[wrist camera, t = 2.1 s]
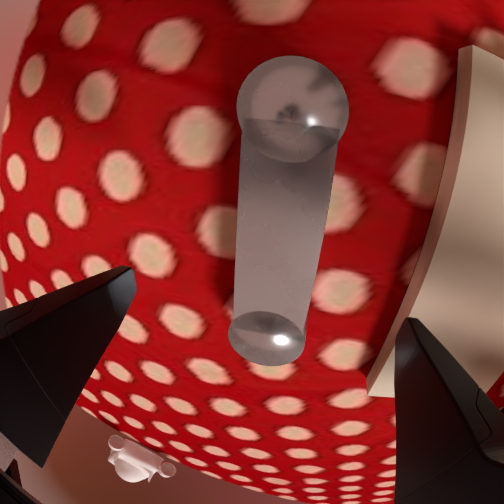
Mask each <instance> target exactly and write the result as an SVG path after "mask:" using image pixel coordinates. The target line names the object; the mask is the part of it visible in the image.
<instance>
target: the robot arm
mask: <svg viewBox="0 0 504 504" xmlns="http://www.w3.org/2000/svg"><path fill="white" fill-rule="evenodd" d="M136 292H137V285H136V279H135V273H134V270H133V268H132V267H128V266H124V265H122V266H119V267H116V268H113V269H111V270H108V271H105V272H103V273H100V274H97V275H94V276H92V277H89V278H87V279H84V280H81V281H79V282H76V283H73V284H71V285H68V286H66V287H63V288H60V289H58V290H55V291H53V292H50V293H48V294H45V295H43V296H40V297H39V298H35V299H32V300H30V301H27V302H25V303H22V304H19V305H17V306H14V307H11V308H8V309H5V310H2V311H0V504H42V503H41V502H40V501H38V500H37V499H36V498H34V497H33V496H32V495H31V494H29V493H28V492H27V491H26V490H24V489H23V488H22V484H21V479H20V475H19V469H18V464H17V461H16V460H15V459H14V457H15V455H16V454H17V452H18V451H20V452H21V453H23V454H24V455H25V456H26V457H27V458H29V459H30V460H31V461H33V462H34V463H35V464H37V465H38V466H39V467H41V468H42V467H43V466H44V464H45V462H46V460H47V457H48V456H49V454H50V452H51V450H52V448H53V445H54V443H55V441H56V439H57V437H58V435H59V433H60V431H61V430H62V428H63V426H64V424H65V421H66V419H67V418H68V416H69V414H70V412H71V410H72V408H73V406H74V405H75V403H76V401H77V399H78V397H79V395H80V394H81V392H82V390H83V388H84V386H85V385H86V383H87V381H88V379H89V378H90V376H91V374H92V372H93V371H94V369H95V367H96V365H97V364H98V362H99V360H100V359H101V357H102V355H103V353H104V352H105V350H106V348H107V347H108V345H109V343H110V342H111V340H112V339H113V337H114V335H115V334H116V332H117V330H118V329H119V327H120V325H121V323H122V321H123V319H124V317H125V315H126V313H127V311H128V309H129V307H130V305H131V303H132V300H133V298H134V297H135V294H136ZM394 392H395V411H396V480H395V498H394V502H395V503H394V504H504V408H503V409H502V410H501V411H500V410H499V409H498V407H497V406H496V405H495V404H494V403H493V402H492V401H491V399H490V398H489V397H488V396H487V395H486V394H485V392H484V391H483V390H482V389H481V388H479V385H478V384H477V383H476V382H475V381H474V379H473V378H472V377H471V376H470V375H469V374H468V373H467V371H466V370H465V369H464V368H463V367H462V366H461V365H460V363H459V362H458V361H457V360H456V359H455V358H454V357H453V356H452V355H451V353H450V352H449V351H448V350H447V349H446V348H445V347H444V346H443V345H442V344H441V342H440V341H439V340H438V339H437V338H436V337H435V336H434V335H433V334H432V333H431V332H430V331H429V330H428V329H427V328H426V326H425V325H424V324H423V323H422V322H421V321H420V320H419V319H417V318H412V317H406V318H405V319H404V320H403V323H402V325H401V327H400V329H399V331H398V333H397V335H396V339H395V367H394Z"/></svg>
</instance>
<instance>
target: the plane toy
mask: <svg viewBox="0 0 504 504" xmlns="http://www.w3.org/2000/svg"><path fill="white" fill-rule="evenodd" d="M108 445H109V447H110V448H111V449H112V450H111V451H110V452H111V454H110V456H109V458H108V461H109V462H111V463H112V464H114V465H115V469H116V472H117V474H118V475H119V476H120V477H121V478H122V479H124V480H126V481H129V482H138V481H140V480H142V479H143V480H144V479H145V478H148V477H149V478H148V482H150V480H151V478H152V476H153V474H154V473H155V472H156V471H157V472H159V474H160V475H161V476H163V477H170V476H173V475H175V473H176V468H175V466H174V465H173V464H171V463H168V462H165V463H163V464H161V462H162V461H163V460H164V459H163V458H161V457H160V456H159V455H157V454H156V453H154V452H152V451H150V450H148V449H146V448H144V447H142V446H141V445H139V444H137V443H135V442H133V441H130V440H128V439H126V438H125V439H123V438H122V437H121V436H119V435H112V436H110V438H109V441H108Z"/></svg>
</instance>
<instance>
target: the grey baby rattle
mask: <svg viewBox="0 0 504 504" xmlns="http://www.w3.org/2000/svg"><path fill="white" fill-rule="evenodd" d="M237 117H238V121H239V124H240V127H241V129H242V135H241V153H240V171H239V191H238V211H237V233H236V256H235V281H234V309H233V319H232V322H231V324H230V326H229V330H228V338H229V341H230V343H231V345H232V347H233V348H234V349H235V351H236V352H237V353H238V354H240V355H241V356H242V357H244V358H245V359H247V360H249V361H251V362H253V363H256V364H260V365H265V366H280V365H285V364H288V363H290V362H292V361H294V360H296V359H297V358H298V357H299V356H300V355H301V353H302V352H303V349H304V345H305V338H306V330H307V322H308V308H309V304H310V299H311V295H312V290H313V286H314V281H315V276H316V271H317V266H318V261H319V256H320V251H321V246H322V241H323V235H324V230H325V224H326V219H327V213H328V207H329V201H330V195H331V189H332V182H333V176H334V169H335V162H336V155H337V148H338V141H339V140H340V138H341V137H342V135H343V133H344V131H345V129H346V126H347V122H348V117H349V106H348V100H347V96H346V93H345V90H344V88H343V86H342V84H341V83H340V81H339V80H338V79H337V77H336V76H335V75H334V74H333V73H332V72H331V71H330V70H329V69H328V68H326V67H325V66H324V65H322V64H320V63H319V62H316V61H314V60H312V59H309V58H305V57H300V56H281V57H276V58H273V59H270V60H268V61H266V62H264V63H262V64H260V65H259V66H257V67H256V68H255V69H254V70H253V71H252V72H251V73H250V74H249V75H248V76H247V77H246V79H245V80H244V82H243V84H242V86H241V88H240V90H239V94H238V98H237Z"/></svg>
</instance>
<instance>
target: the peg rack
mask: <svg viewBox="0 0 504 504" xmlns="http://www.w3.org/2000/svg"><path fill="white" fill-rule="evenodd" d="M406 317H412V318H417V319H419V320H420V321H421V322H422V323H423V324H424V325H425V326H426V328H427V329H428V330H429V331H430V332H431V333H432V334H433V335H434V336H435V337H436V338H437V339H438V340H439V341H440V342H441V344H442V345H443V346H444V347H445V348H446V349H447V350H448V351H449V352H450V353H451V355H452V356H453V357H454V358H455V359H456V360H457V361H458V362H459V363H460V365H461V366H462V367H463V368H464V369H465V370H466V371H467V373H468V374H469V375H470V376H471V377H472V378H473V379H474V381H475V382H476V383H477V384H478V385H479V388H481V389H482V390H483V391H484V392H485V394H486V393H487V392H488V390H489V389H490V388H491V387H492V386H493V384H494V383H495V382H496V381H497V379H498V378H499V377H500V375H501V374H502V373H503V372H504V60H503V59H501V58H499V57H497V56H495V55H493V54H491V53H489V52H487V51H485V50H483V49H481V48H479V47H477V46H474V45H470V46H466V47H463V48H460V49H458V71H457V84H456V95H455V104H454V112H453V119H452V126H451V133H450V139H449V144H448V150H447V155H446V160H445V165H444V170H443V174H442V179H441V183H440V187H439V191H438V195H437V199H436V203H435V207H434V210H433V214H432V218H431V221H430V225H429V228H428V231H427V234H426V238H425V241H424V244H423V247H422V250H421V253H420V256H419V259H418V262H417V265H416V267H415V270H414V273H413V276H412V278H411V281H410V284H409V286H408V289H407V291H406V294H405V296H404V299H403V301H402V304H401V306H400V309H399V311H398V313H397V316H396V318H395V320H394V323H393V325H392V327H391V329H390V331H389V334H388V336H387V338H386V340H385V342H384V344H383V346H382V348H381V351H380V353H379V355H378V357H377V359H376V361H375V363H374V365H373V366H372V368H371V370H370V372H369V374H368V376H367V378H366V380H367V395H368V396H381V397H395V392H394V367H395V339H396V335H397V333H398V331H399V329H400V327H401V325H402V323H403V320H404V319H405V318H406Z"/></svg>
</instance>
